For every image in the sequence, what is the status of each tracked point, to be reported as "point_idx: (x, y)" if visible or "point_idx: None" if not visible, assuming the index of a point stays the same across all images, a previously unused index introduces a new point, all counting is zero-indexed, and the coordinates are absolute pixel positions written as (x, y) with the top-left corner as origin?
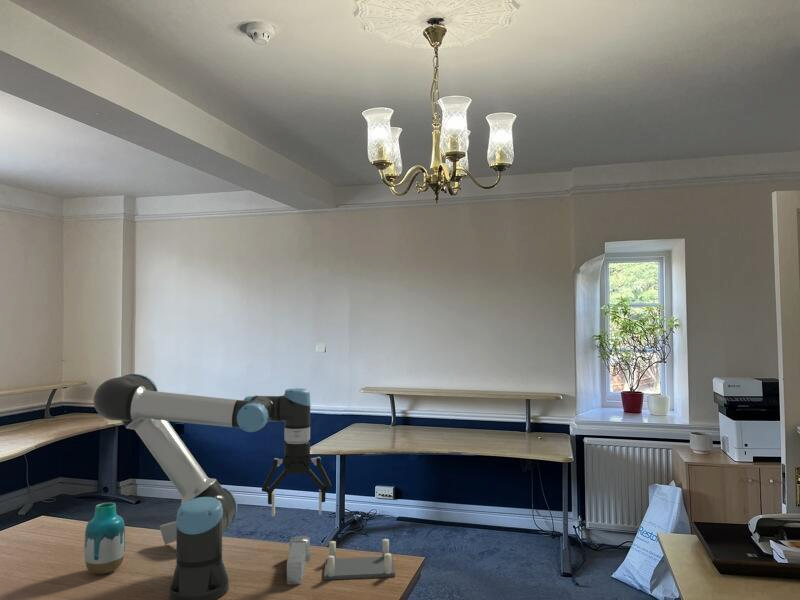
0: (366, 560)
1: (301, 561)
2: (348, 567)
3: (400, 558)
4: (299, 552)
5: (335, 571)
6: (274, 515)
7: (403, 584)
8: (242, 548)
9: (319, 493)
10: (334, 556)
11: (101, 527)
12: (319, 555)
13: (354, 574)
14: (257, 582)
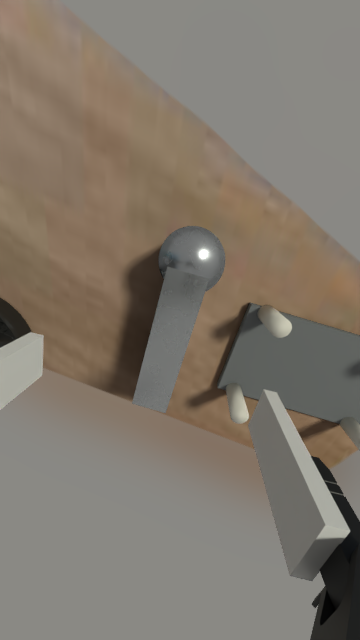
0: (340, 352)
1: (165, 411)
2: (282, 371)
3: None
4: (170, 361)
5: (247, 377)
6: (42, 362)
7: (349, 454)
8: (41, 97)
9: (289, 563)
10: (248, 417)
11: None
12: (249, 251)
13: None
14: (89, 344)
